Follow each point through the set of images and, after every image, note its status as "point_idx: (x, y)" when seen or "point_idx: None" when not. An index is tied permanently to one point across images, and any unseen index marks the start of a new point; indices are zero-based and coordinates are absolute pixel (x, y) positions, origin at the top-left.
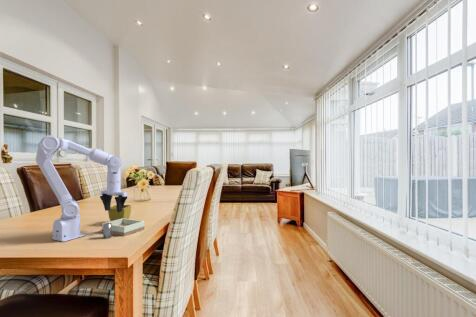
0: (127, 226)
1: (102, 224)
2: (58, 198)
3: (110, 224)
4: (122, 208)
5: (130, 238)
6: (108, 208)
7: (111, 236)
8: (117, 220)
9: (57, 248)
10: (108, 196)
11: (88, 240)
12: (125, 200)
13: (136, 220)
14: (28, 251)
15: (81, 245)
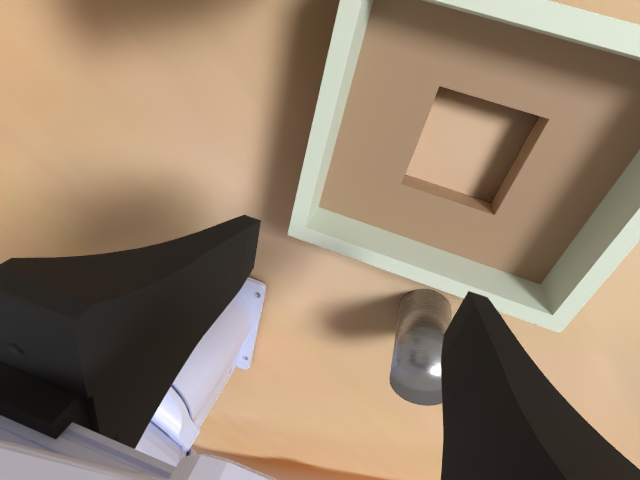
0: (580, 305)
1: (295, 233)
2: None
3: None
4: (504, 327)
5: (613, 328)
6: (248, 252)
7: (450, 308)
8: (343, 78)
9: (294, 423)
10: (116, 388)
11: (345, 349)
12: (614, 459)
13: (626, 49)
14: (225, 434)
15: (365, 406)
